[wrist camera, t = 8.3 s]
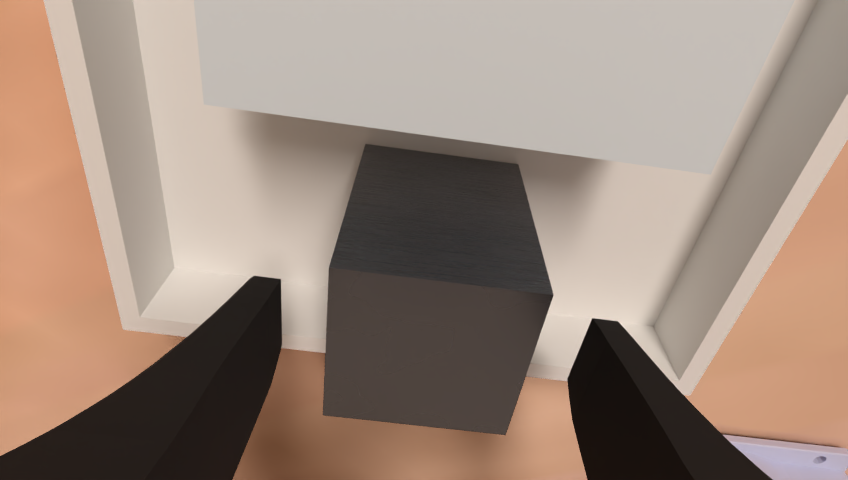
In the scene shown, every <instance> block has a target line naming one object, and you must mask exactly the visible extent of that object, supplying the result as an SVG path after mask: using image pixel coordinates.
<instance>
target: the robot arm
mask: <svg viewBox="0 0 848 480" xmlns="http://www.w3.org/2000/svg"><path fill="white" fill-rule="evenodd" d="M281 347H282V309H281V279H277V278H269V277H261V276H253V277H251V278H250V279H249V280H248V281H247V282H246V283H245V284H244V285H243V286H242V287H241V288H240V289H239V290H238V291H237V292H236V293H234V294H233V295H232V296H231V297H230V298H229V299H228V300H227V301H226V302H225V303H224V304H223V305H222V306H221V307H220V308H219V309H218V310H217V311H216V312H215V313H213V314H212V315H211V316H210V317H209V318H208V319H207V320H206V321H205V322H203V323H202V324H201V325H200V326H199V327H198V328H197V329H196V330H194V331H193V332H192V333H191V334H190V335H189V336H188V337H186V338H185V339H184V340H183V341H182V342H180V343H179V344H178V345H177V346H175V347H174V348H173V349H172V350H170V351H169V352H168V353H167V354H165V355H164V356H163V357H162V358H160V359H159V360H158V361H157V362H155V363H154V364H153V365H151V366H150V367H149V368H147V369H146V370H145V371H143V372H142V373H141V374H139V375H138V376H136V377H135V378H134V379H132V380H131V381H129V382H128V383H126V384H125V385H123V386H122V387H120V388H119V389H118V390H116V391H115V392H113V393H112V394H110V395H109V396H107V397H105V398H104V399H102V400H101V401H99V402H97V403H96V404H94V405H93V406H91V407H89V408H88V409H86V410H84V411H83V412H81V413H79V414H78V415H76V416H74V417H73V418H71V419H69V420H68V421H66V422H64V423H62V424H61V425H59V426H57V427H55V428H54V429H52V430H50V431H48V432H46V433H44V434H43V435H41V436H39V437H37V438H35V439H33V440H31V441H29V442H28V443H26V444H24V445H22V446H20V447H18V448H16V449H14V450H12V451H10V452H8V453H6V454H4V455H2V456H0V480H232V479H233V477H234V474H235V471H236V469H237V467H238V464H239V462H240V459H241V457H242V454H243V452H244V450H245V447H246V445H247V442H248V440H249V437H250V435H251V433H252V430H253V428H254V425H255V423H256V420H257V418H258V416H259V413H260V411H261V408H262V406H263V403H264V401H265V398H266V396H267V393H268V391H269V388H270V386H271V383H272V379H273V376H274V372H275V369H276V365H277V362H278V358H279V354H280V350H281ZM567 380H568V389H569V398H570V406H571V414H572V420H573V424H574V429H575V433H576V436H577V440H578V444H579V448H580V452H581V456H582V460H583V464H584V467H585V471H586V475H587V479H588V480H848V476H847V475H846V473H845V472H844V471H845V470H846V469H847V468H848V449H845V448H839V447H830V446H821V445H812V444H803V443H794V442H786V441H777V440H768V439H759V438H750V437H741V436H732V435H724V434H721V433H720V432H719V431H718V430H717V429H716V428H715V427H714V426H713V425H712V424H711V423H710V422H709V421H708V420H707V419H706V418H705V417H704V416H703V415H702V414H701V413H700V412H699V411H698V410H697V409H696V408H695V407H694V406H693V405H692V404H691V403H690V402H689V401H688V399H687V398H686V397H685V396H684V395H683V394H682V393H681V392H680V391H679V390H678V389H677V388H676V387H675V385H674V384H673V383H672V382H671V381H670V380H669V379H668V378H667V377H666V375H665V374H664V373H663V372H662V371H661V370H660V369H659V367H658V366H657V365H656V364H655V363H654V362H653V361H652V359H651V358H650V357H649V356H648V355H647V354H646V352H645V351H644V350H643V349H642V348H641V347H640V346H639V344H638V343H637V342H636V341H635V340H634V339H633V337H632V336H631V335H630V334H629V333H628V332H627V331H626V329H625V328H624V327H623V326H622V325H621V324H620V323H619V322H618V321H612V320H604V319H596V318H592V320H591V322H590V325H589V327H588V330H587V332H586V335H585V337H584V339H583V342H582V344H581V347H580V349H579V352H578V354H577V356H576V359H575V361H574V364H573V366H572V369H571V371H570V373H569V376H568V378H567Z"/></svg>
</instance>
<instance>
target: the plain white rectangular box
mask: <svg viewBox="0 0 848 480" xmlns="http://www.w3.org/2000/svg"><path fill="white" fill-rule="evenodd" d="M794 1H795V0H194V8H195V18H196V29H197V39H198V49H199V60H200V70H201V80H202V91H203V101H204V105H211V106H218V107H225V108H233V109H240V110H247V111H254V112H261V113H269V114H276V115H283V116H290V117H298V118H305V119H312V120H319V121H327V122H334V123H341V124H348V125H355V126H363V127H370V128H377V129H384V130H392V131H399V132H406V133H413V134H420V135H428V136H435V137H442V138H449V139H457V140H464V141H471V142H478V143H486V144H493V145H500V146H507V147H514V148H522V149H529V150H536V151H543V152H551V153H558V154H565V155H572V156H580V157H587V158H594V159H601V160H608V161H616V162H623V163H630V164H637V165H645V166H652V167H659V168H666V169H674V170H681V171H688V172H695V173H702V174H710V175H711V173H712V171H713V169H714V167H715V164H716V162H717V160H718V158H719V156H720V154H721V152H722V150H723V148H724V146H725V144H726V142H727V140H728V138H729V135H730V133H731V131H732V129H733V127H734V125H735V123H736V121H737V119H738V117H739V115H740V113H741V111H742V108H743V106H744V104H745V102H746V100H747V98H748V96H749V94H750V92H751V90H752V88H753V86H754V84H755V81H756V79H757V77H758V75H759V73H760V71H761V69H762V67H763V65H764V63H765V61H766V59H767V57H768V55H769V52H770V50H771V48H772V46H773V44H774V42H775V40H776V38H777V36H778V34H779V32H780V30H781V28H782V25H783V23H784V21H785V19H786V17H787V15H788V13H789V11H790V9H791V7H792V5H793V3H794Z"/></svg>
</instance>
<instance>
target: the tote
mask: <svg viewBox="0 0 848 480" xmlns="http://www.w3.org/2000/svg"><path fill="white" fill-rule="evenodd" d="M44 4H45V8H46V12H47V17H48V21H49V25H50V29H51V33H52V37H53V41H54V46H55V50H56V54H57V58H58V62H59V66H60V70H61V75H62V79H63V83H64V87H65V91H66V95H67V99H68V104H69V108H70V112H71V116H72V120H73V124H74V128H75V133H76V137H77V141H78V145H79V149H80V153H81V157H82V162H83V166H84V170H85V174H86V178H87V182H88V186H89V191H90V195H91V199H92V203H93V207H94V211H95V215H96V220H97V224H98V228H99V232H100V236H101V240H102V244H103V249H104V253H105V257H106V261H107V265H108V269H109V273H110V278H111V282H112V286H113V290H114V294H115V298H116V302H117V307H118V311H119V315H120V319H121V323H122V327H123V330H131V331H140V332H148V333H157V334H165V335H174V336H183V337H188V336H189V335H190V334H191V333H192V332H193V331H194V330H196V329H197V328H198V327H199V326H200V325H201V324H202V323H203V322H205V321H206V320H207V319H208V318H209V317H210V316H211V315H212V314H213V313H215V312H216V311H217V310H218V309H219V308H220V307H221V306H222V305H223V304H224V303H225V302H226V301H227V300H228V299H229V298H230V297H231V296H232V295H233V294H234V293H236V292H237V291H238V290H239V289H240V288H241V287H242V286H243V285H244V284H245V283H246V282H247V281H248V280H249V279H250V278H251V277H253V276H261V277H269V278H277V279H281V309H282V347H281V348H286V349H294V350H303V351H311V352H320V353H325V351H326V326H327V301H328V276H329V265H330V262H331V259H332V255H333V252H334V249H335V245H336V242H337V238H338V235H339V232H340V228H341V225H342V221H343V218H344V215H345V211H346V208H347V204H348V201H349V198H350V194H351V191H352V188H353V184H354V181H355V177H356V174H357V171H358V167H359V164H360V160H361V157H362V154H363V150H364V147H365V144H371V145H378V146H386V147H393V148H401V149H408V150H416V151H423V152H431V153H438V154H446V155H453V156H461V157H468V158H476V159H483V160H491V161H498V162H506V163H513V164H518V165H519V168H520V172H521V176H522V180H523V183H524V187H525V191H526V194H527V198H528V202H529V205H530V209H531V213H532V217H533V220H534V224H535V228H536V231H537V235H538V239H539V243H540V246H541V250H542V254H543V257H544V261H545V265H546V268H547V272H548V276H549V280H550V283H551V287H552V291H553V294H554V296H553V298H552V301H551V304H550V307H549V310H548V313H547V316H546V319H545V322H544V325H543V328H542V330H541V333H540V336H539V339H538V342H537V345H536V348H535V351H534V354H533V357H532V360H531V362H530V365H529V368H528V371H527V374H526V377H535V378H543V379H552V380H561V381H568V380H567V378H568V376H569V373H570V371H571V369H572V366H573V364H574V361H575V359H576V356H577V354H578V352H579V349H580V347H581V344H582V342H583V339H584V337H585V335H586V332H587V330H588V327H589V325H590V322H591V320H592V318H596V319H604V320H612V321H618V322H619V323H620V324H621V325H622V326H623V327H624V328H625V329H626V331H627V332H628V333H629V334H630V335H631V336H632V337H633V339H634V340H635V341H636V342H637V343H638V344H639V346H640V347H641V348H642V349H643V350H644V351H645V352H646V354H647V355H648V356H649V357H650V358H651V359H652V361H653V362H654V363H655V364H656V365H657V366H658V367H659V369H660V370H661V371H662V372H663V373H664V374H665V375H666V377H667V378H668V379H669V380H670V381H671V382H672V383H673V384H674V385H675V387H676V388H677V389H678V390H679V391H680V392H681V393H682V394H683V395H689V396H690V395H691V393H692V391H693V390H694V388H695V387H696V385H697V383H698V382H699V380H700V378H701V377H702V375H703V374H704V372H705V370H706V369H707V367H708V365H709V364H710V362H711V361H712V359H713V357H714V356H715V354H716V353H717V351H718V349H719V348H720V346H721V344H722V343H723V341H724V340H725V338H726V336H727V335H728V333H729V331H730V330H731V328H732V327H733V325H734V323H735V322H736V320H737V318H738V317H739V315H740V314H741V312H742V310H743V309H744V307H745V305H746V304H747V302H748V301H749V299H750V297H751V296H752V294H753V292H754V291H755V289H756V288H757V286H758V284H759V283H760V281H761V279H762V278H763V276H764V275H765V273H766V271H767V270H768V268H769V266H770V265H771V263H772V262H773V260H774V258H775V257H776V255H777V253H778V252H779V250H780V249H781V247H782V245H783V244H784V242H785V240H786V239H787V237H788V236H789V234H790V232H791V231H792V229H793V227H794V226H795V224H796V223H797V221H798V219H799V218H800V216H801V214H802V213H803V211H804V210H805V208H806V206H807V205H808V203H809V201H810V200H811V198H812V197H813V195H814V193H815V192H816V190H817V188H818V187H819V185H820V184H821V182H822V180H823V179H824V177H825V175H826V174H827V172H828V171H829V169H830V167H831V166H832V164H833V163H834V161H835V159H836V158H837V156H838V154H839V153H840V151H841V150H842V148H843V146H844V145H845V143H846V141H847V140H848V0H795V1H794V3H793V5H792V7H791V9H790V11H789V13H788V15H787V17H786V19H785V21H784V23H783V25H782V28H781V30H780V32H779V34H778V36H777V38H776V40H775V42H774V44H773V46H772V48H771V50H770V52H769V55H768V57H767V59H766V61H765V63H764V65H763V67H762V69H761V71H760V73H759V75H758V77H757V79H756V81H755V84H754V86H753V88H752V90H751V92H750V94H749V96H748V98H747V100H746V102H745V104H744V106H743V108H742V111H741V113H740V115H739V117H738V119H737V121H736V123H735V125H734V127H733V129H732V131H731V133H730V135H729V138H728V140H727V142H726V144H725V146H724V148H723V150H722V152H721V154H720V156H719V158H718V160H717V162H716V164H715V167H714V169H713V171H712V173H711V175H710V174H702V173H695V172H688V171H681V170H674V169H666V168H659V167H652V166H645V165H637V164H630V163H623V162H616V161H608V160H601V159H594V158H587V157H580V156H572V155H565V154H558V153H551V152H543V151H536V150H529V149H522V148H514V147H507V146H500V145H493V144H486V143H478V142H471V141H464V140H457V139H449V138H442V137H435V136H428V135H420V134H413V133H406V132H399V131H392V130H384V129H377V128H370V127H363V126H355V125H348V124H341V123H334V122H327V121H319V120H312V119H305V118H298V117H290V116H283V115H276V114H269V113H261V112H254V111H247V110H240V109H233V108H225V107H218V106H211V105H204V101H203V91H202V80H201V70H200V60H199V49H198V39H197V29H196V18H195V8H194V0H44Z"/></svg>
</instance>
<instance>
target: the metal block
mask: <svg viewBox="0 0 848 480" xmlns="http://www.w3.org/2000/svg"><path fill="white" fill-rule="evenodd" d="M553 296H554V294H553V291H552V287H551V283H550V280H549V276H548V272H547V268H546V265H545V261H544V257H543V254H542V250H541V246H540V243H539V239H538V235H537V231H536V228H535V224H534V220H533V217H532V213H531V209H530V205H529V202H528V198H527V194H526V191H525V187H524V183H523V180H522V176H521V172H520V168H519V165H518V164H513V163H506V162H498V161H491V160H483V159H476V158H468V157H461V156H453V155H446V154H438V153H431V152H423V151H416V150H408V149H401V148H393V147H386V146H378V145H371V144H365V147H364V150H363V154H362V157H361V160H360V164H359V167H358V171H357V174H356V177H355V181H354V184H353V188H352V191H351V194H350V198H349V201H348V204H347V208H346V211H345V215H344V218H343V221H342V225H341V228H340V232H339V235H338V238H337V242H336V245H335V249H334V252H333V255H332V259H331V262H330V265H329V276H328V301H327V326H326V351H325V376H324V401H323V415H325V416H335V417H344V418H353V419H362V420H372V421H381V422H390V423H399V424H409V425H418V426H427V427H436V428H446V429H455V430H464V431H473V432H483V433H492V434H501V435H506V432H507V429H508V426H509V423H510V421H511V418H512V415H513V412H514V409H515V406H516V403H517V400H518V397H519V394H520V391H521V389H522V386H523V383H524V380H525V377H526V374H527V371H528V368H529V365H530V362H531V360H532V357H533V354H534V351H535V348H536V345H537V342H538V339H539V336H540V333H541V330H542V328H543V325H544V322H545V319H546V316H547V313H548V310H549V307H550V304H551V301H552V298H553Z"/></svg>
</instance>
